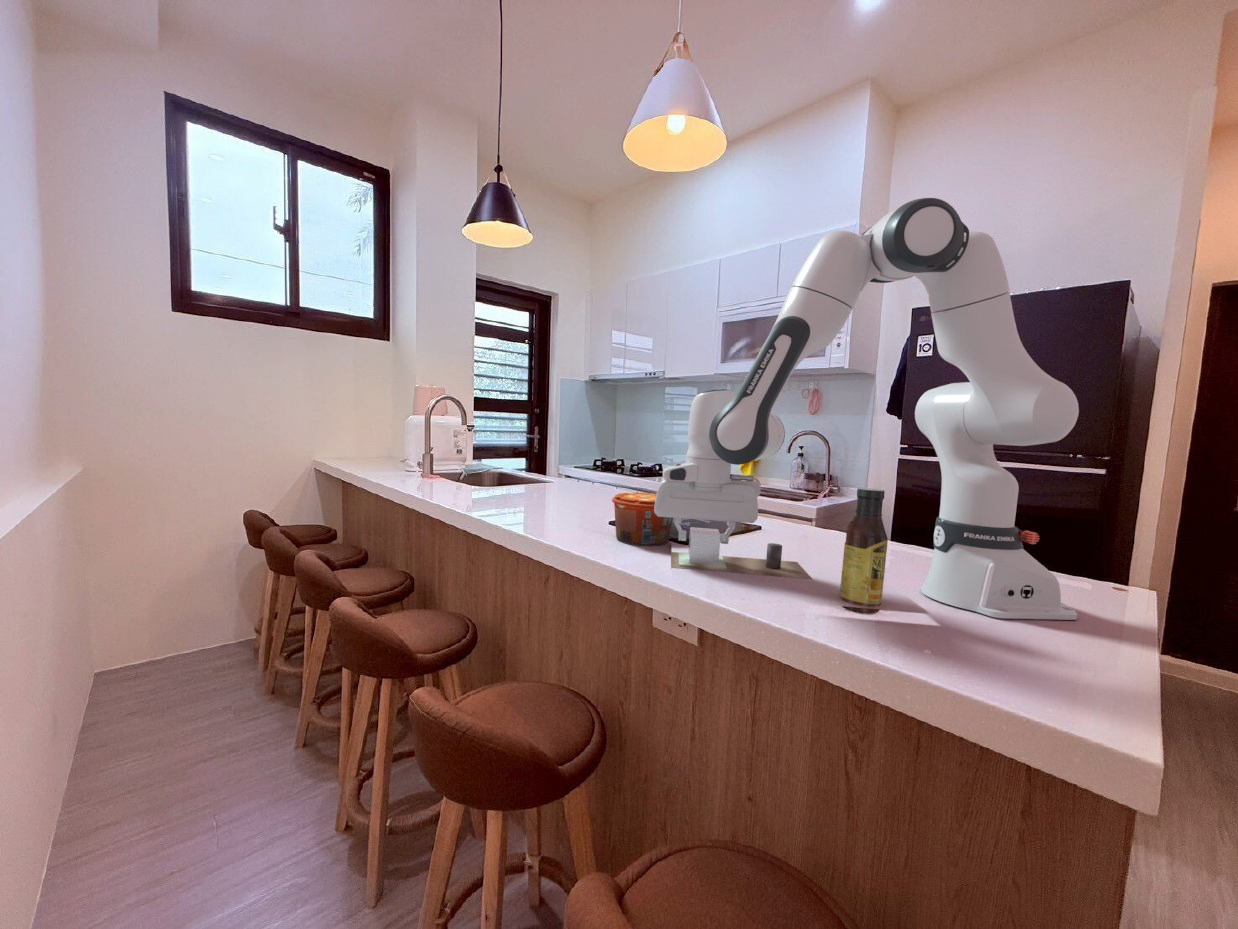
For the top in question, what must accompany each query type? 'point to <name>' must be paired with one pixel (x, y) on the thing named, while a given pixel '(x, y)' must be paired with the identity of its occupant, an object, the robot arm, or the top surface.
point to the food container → (640, 520)
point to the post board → (747, 564)
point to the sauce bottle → (865, 553)
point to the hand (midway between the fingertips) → (703, 541)
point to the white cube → (704, 546)
